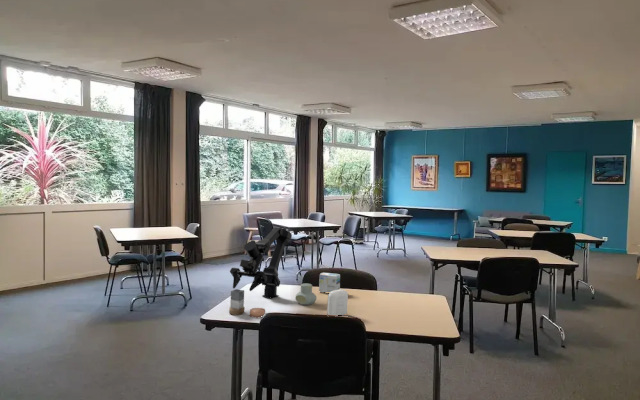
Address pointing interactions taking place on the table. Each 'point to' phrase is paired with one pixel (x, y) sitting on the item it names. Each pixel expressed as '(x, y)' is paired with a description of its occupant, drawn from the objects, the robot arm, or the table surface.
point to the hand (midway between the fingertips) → (241, 289)
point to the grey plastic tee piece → (306, 295)
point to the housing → (237, 299)
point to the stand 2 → (257, 312)
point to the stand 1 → (236, 311)
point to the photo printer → (337, 302)
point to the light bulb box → (329, 282)
